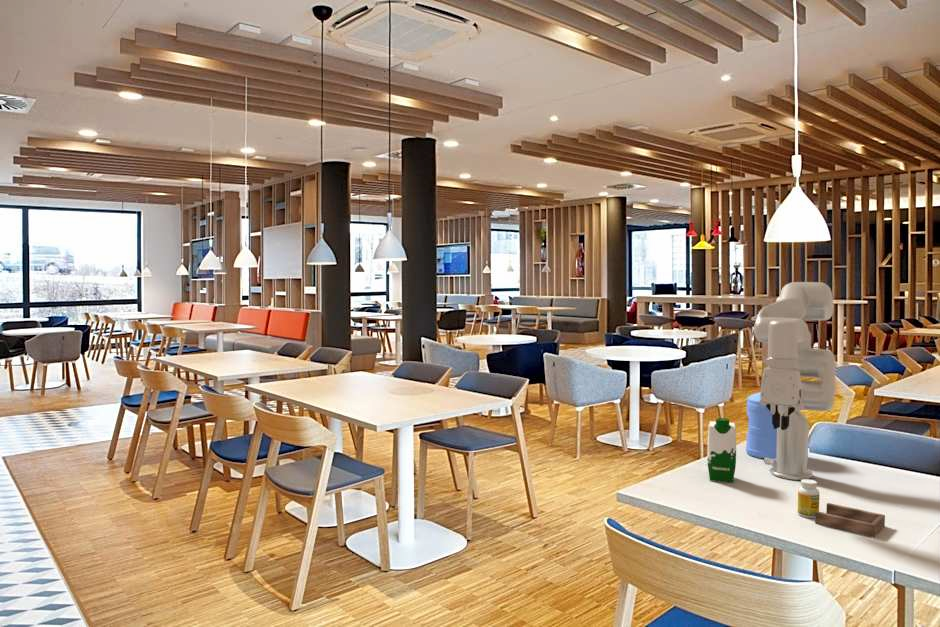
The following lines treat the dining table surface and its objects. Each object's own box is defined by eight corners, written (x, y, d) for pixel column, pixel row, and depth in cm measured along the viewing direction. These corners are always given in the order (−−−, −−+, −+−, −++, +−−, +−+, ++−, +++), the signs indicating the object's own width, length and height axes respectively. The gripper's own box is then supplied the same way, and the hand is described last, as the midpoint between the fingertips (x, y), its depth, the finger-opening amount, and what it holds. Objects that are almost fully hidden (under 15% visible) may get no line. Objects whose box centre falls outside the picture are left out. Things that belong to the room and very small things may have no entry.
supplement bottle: (804, 510, 197) (805, 477, 196) (822, 516, 192) (823, 482, 192) (793, 514, 194) (794, 480, 193) (811, 520, 189) (812, 485, 189)
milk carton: (706, 481, 224) (708, 419, 223) (707, 473, 232) (708, 414, 231) (736, 484, 221) (737, 421, 220) (735, 476, 230) (736, 416, 228)
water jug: (802, 458, 250) (804, 381, 248) (765, 462, 246) (767, 383, 244) (771, 448, 265) (773, 375, 263) (736, 451, 261) (738, 376, 259)
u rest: (815, 523, 187) (815, 512, 187) (827, 513, 194) (828, 502, 194) (873, 537, 177) (874, 525, 177) (884, 526, 185) (885, 515, 184)
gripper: (749, 362, 199) (747, 426, 200) (806, 368, 188) (804, 435, 189) (759, 360, 204) (758, 422, 205) (816, 365, 193) (814, 430, 194)
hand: (780, 428), depth 197 cm, fingers closed
